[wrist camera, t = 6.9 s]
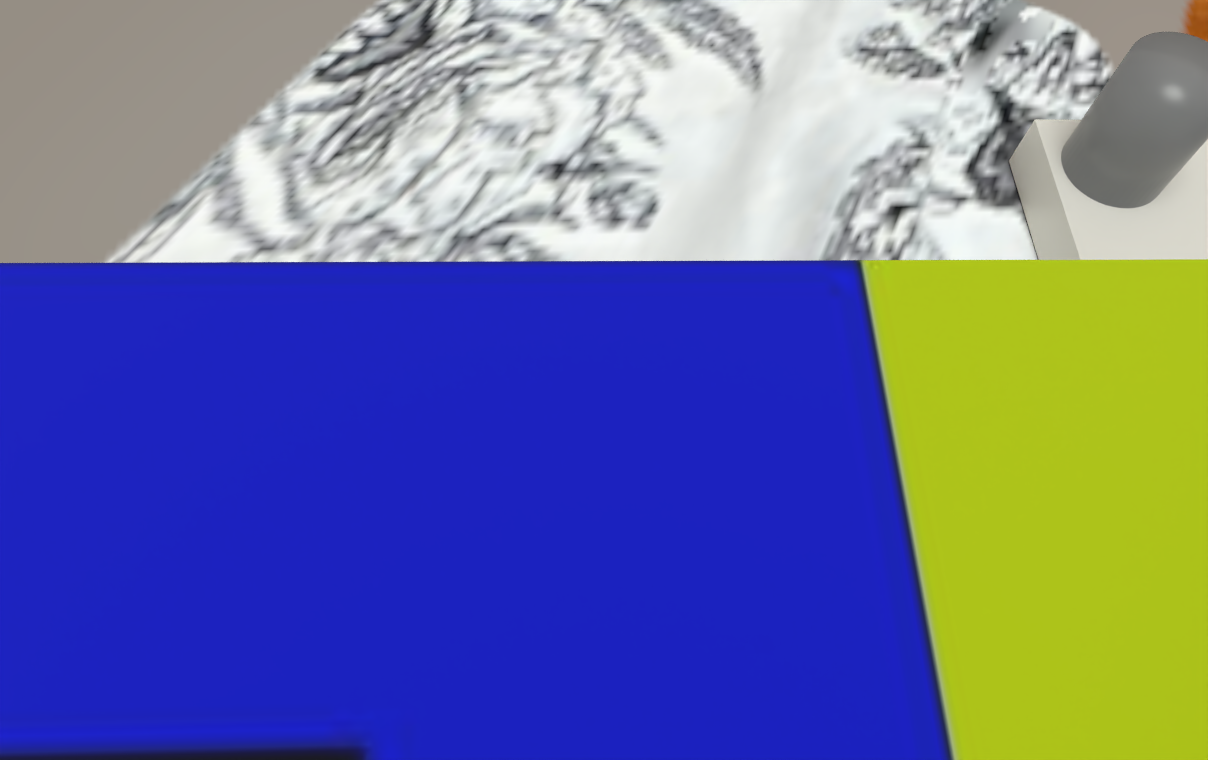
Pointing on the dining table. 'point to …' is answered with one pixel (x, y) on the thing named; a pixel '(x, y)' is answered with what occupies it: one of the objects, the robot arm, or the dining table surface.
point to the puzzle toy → (604, 510)
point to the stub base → (1103, 226)
